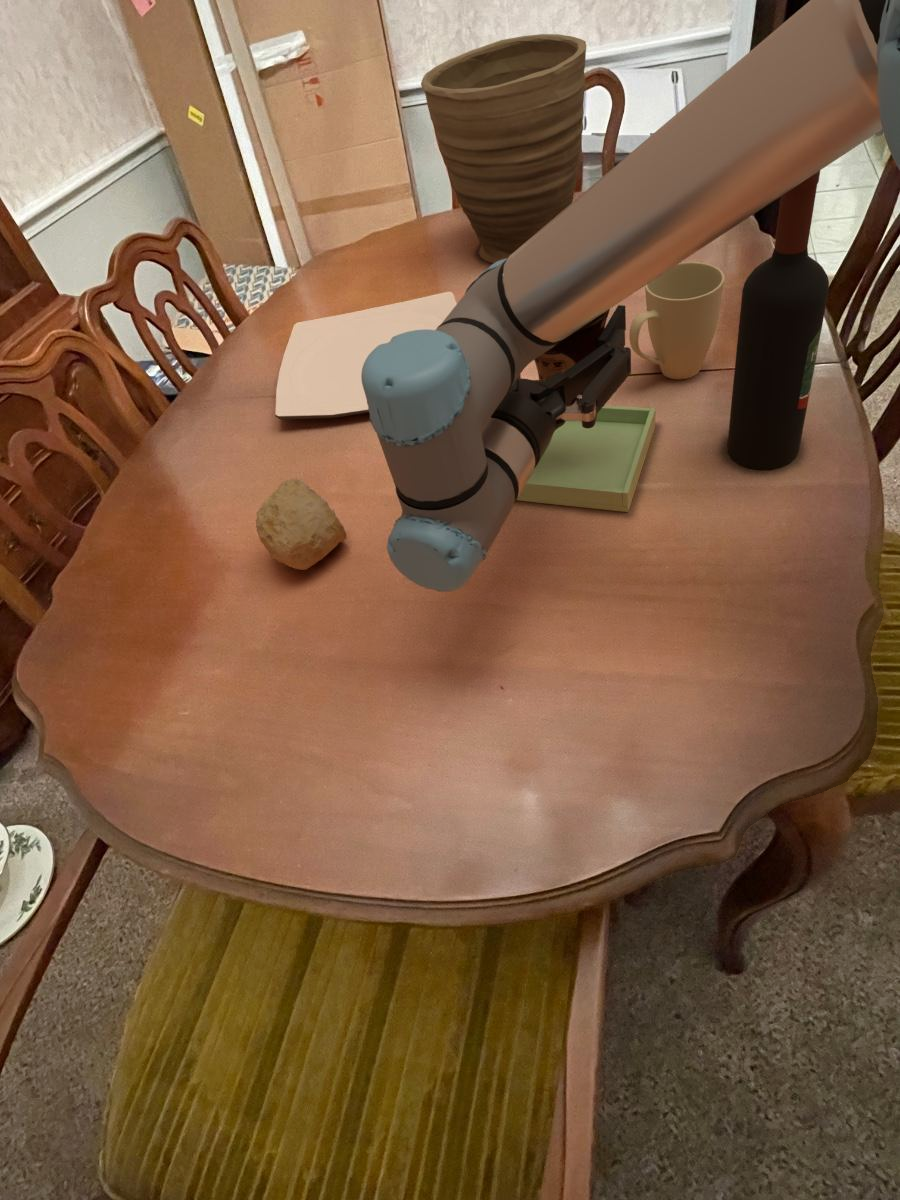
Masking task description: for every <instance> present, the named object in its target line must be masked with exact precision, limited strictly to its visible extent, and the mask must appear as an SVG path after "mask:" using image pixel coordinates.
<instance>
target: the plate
mask: <svg viewBox="0 0 900 1200" xmlns="http://www.w3.org/2000/svg"><path fill="white" fill-rule="evenodd" d="M457 303H458V302H457V300H456V298H455V295H454V293H453V291H445V292H444V291H443V292H440V293H436V294H431V295H426V296H423V297H419V298H414V299H410V300H405V301H400V302H396V303H389V304H386V305H381V306H375V307H371V308H366V309H362V310H357V311H352V312H347V313H343V314H342V313H341V314H337V315H336V314H335V315H331V316H326V317H320V318H315V319H309V320H304V321H299V322H296V323H295V324H293V327H292V330H291V333H290V335H289V339H288V342H287V345H286V347H285V351H284V353H283V357H282V361H281V364H280V368H279V372H278V377H277V382H276V383H277V384H276V389H275V390H276V391H275V418H277V419H279V420H304V419H305V420H306V419H307V420H308V419H335V418H342V417H348V416H354V415H361V414H366V413H369V410H368V408H369V407H368V404H367V399H366V396H365V392H364V389H363V385H362V379H361V373H362V368H363V364H364V362H365V360H366V358H367V357H368V355H369V354H370V353H371V352H372V351H373V350H374V349H375V348H376V347H377V346H378V345H381V344H385V343H388V342H390V341H391V338H392V337H394V336H396V335H399V334H402V333H405V332H409V331H414V330H426V329H427V330H436V329H437V327H438V326H439V325H441V323H442V322H443V321H444V320H445V318H446V317H447V316H448V315H449V313H450V312H451V311H452V310H453V308H454V307H455V306H456V305H457Z"/></svg>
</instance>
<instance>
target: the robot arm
mask: <svg viewBox="0 0 900 1200" xmlns="http://www.w3.org/2000/svg"><path fill="white" fill-rule="evenodd" d="M881 131H882V132H883V137H884V140H885V143H886V145H887V147H888V151H889V153H890V155H891V157H892V160H893V161H894V163H895V165H896V167H897V169H898V171H900V0H809V1H808V2H807V3H805V4H804V5H803V6H802V7H800V9H798V10H797V11H796V12H794V14H792V15H791V16H790V17H789V18H788V19H786V20H785V21H784V22H783V23H782V24H781V25H779V26H778V27H777V28H776V29H774V30H773V31H772V32H771V33H770V34H769V35H768V36H766V37H765V38H764V39H763V40H762V41H761V42H759V43H758V44H757V45H755V46H754V47H753V48H752V49H751V50H750V51H749V52H747V53H746V54H745V55H744V56H743V57H742V58H740V59H739V60H738V61H737V62H736V63H735V64H734V65H733V66H731V67H730V68H729V69H728V70H726V71H725V72H724V73H723V74H721V75H720V76H719V77H718V78H717V79H715V81H714V82H712V83H711V84H710V85H708V86H707V87H706V88H705V89H704V90H703V91H702V92H700V93H699V94H698V95H697V96H696V97H694V98H693V99H692V100H691V101H689V102H688V103H687V104H686V105H685V106H684V107H682V108H681V110H679V111H678V112H677V113H676V114H674V115H673V116H672V117H671V118H670V119H669V120H668V121H667V122H665V123H664V124H663V125H661V126H660V127H659V128H658V129H657V130H656V131H655V132H653V133H652V134H651V135H650V136H649V137H648V138H647V139H645V140H644V141H643V142H642V143H641V144H639V145H638V146H637V147H636V148H635V149H633V150H632V151H631V152H630V153H629V154H628V155H626V156H625V157H624V158H623V159H622V160H621V161H619V162H618V163H617V164H616V165H615V166H614V167H612V168H611V169H610V170H608V172H606V173H605V174H603V176H602V177H601V178H599V179H598V180H597V181H596V182H594V184H592V185H591V186H590V187H589V188H588V189H586V190H585V191H583V193H582V194H580V196H578V197H577V198H576V199H575V200H573V201H572V203H571V204H570V205H569V206H568V207H567V208H565V209H564V210H563V211H562V212H561V213H559V214H558V215H557V216H556V217H555V218H554V219H552V220H551V221H550V222H549V223H548V224H546V225H545V226H544V227H543V228H542V229H541V230H539V231H538V232H537V233H536V234H535V235H534V236H532V237H531V238H530V239H529V240H528V241H526V242H525V243H524V244H523V245H522V246H521V247H519V248H518V249H517V250H516V251H515V252H514V253H512V254H511V255H510V256H509V258H507V259H503V260H500V261H497V262H495V263H491V265H490V266H489V267H488V268H487V269H485V270H484V271H482V273H480V274H479V275H478V276H477V277H476V278H475V279H474V280H473V281H472V282H471V283H470V284H469V286H468V287H467V288H466V290H465V292H464V295H463V296H462V297H461V298H460V299H459V301H458V302H456V303H457V305H456V306H455V307H454V308H453V310H452V311H451V312H450V313H449V315H448V316H447V317H446V318H445V320H444V321H443V322H442V323H441V325H439V326H438V327H437V329H436V330H427V329H426V330H414V331H409V332H405V333H402V334H399V335H396V336H394V337H392V338H391V341H390V342H388V343H385V344H381V345H378V346H377V347H376V348H375V349H374V350H373V351H372V352H371V353H370V354H369V355H368V357H367V358H366V360H365V362H364V364H363V368H362V373H361V379H362V385H363V389H364V392H365V396H366V399H367V404H368V407H369V408H368V410H369V412H368V414H369V422H370V423H371V426H372V429H373V430H374V432H375V433H376V435H377V439H378V441H379V444H380V447H381V450H382V452H383V455H384V458H385V461H386V464H387V467H388V469H389V472H390V475H391V477H392V482H393V484H394V486H395V493H396V496H397V499H398V502H399V504H400V507H401V515H400V517H398V518H397V519H396V520H395V522H394V524H393V528H392V530H391V531H390V533H389V536H388V538H387V545H386V549H387V550H386V551H387V554H388V557H389V558H390V562H391V563H392V564H393V566H394V567H395V569H397V571H399V573H401V575H403V576H404V578H405V579H408V580H409V581H410V582H412V583H414V584H415V585H417V586H419V587H421V588H424V589H427V590H433V591H436V592H441V593H448V592H454V591H457V590H459V589H461V588H463V587H464V586H465V585H466V584H467V583H468V582H469V580H470V579H471V577H472V576H473V575H474V573H475V572H476V570H477V568H478V567H479V565H480V564H481V563H483V562H484V561H485V560H486V558H487V555H488V552H489V551H490V549H491V547H492V546H493V544H494V542H495V540H496V538H497V536H498V534H499V532H500V531H501V529H502V527H503V525H504V523H505V522H506V520H507V518H508V516H509V515H510V512H511V511H512V510H513V507H514V505H515V503H516V501H518V500H517V498H518V497H519V495H520V493H521V491H522V490H523V488H524V486H525V484H526V483H527V481H528V479H529V478H530V476H531V474H532V472H533V470H534V468H535V467H536V466H537V464H538V463H539V461H540V459H541V458H542V456H543V454H544V452H545V451H546V449H547V447H548V445H549V443H550V441H551V439H552V436H553V433H554V431H555V430H556V429H558V428H559V427H561V426H562V425H563V424H564V423H565V422H566V421H582V426H583V427H584V428H592V427H593V426H594V425H595V422H596V418H597V413H598V412H599V411H600V410H601V409H602V407H603V406H604V405H606V404H607V403H608V401H609V400H610V399H611V398H612V397H613V395H614V394H615V393H616V392H617V391H618V389H619V388H620V387H621V386H622V384H623V383H624V382H625V381H626V380H627V379H628V377H629V376H630V375H631V374H632V350H631V349H632V348H630V347H626V330H627V320H626V319H627V318H626V317H627V316H626V313H627V312H626V305H623V304H621V305H620V303H621V302H622V301H624V300H625V299H627V298H628V297H630V296H632V295H633V294H635V293H636V292H638V291H639V290H641V289H642V288H645V285H647V284H648V283H650V282H651V281H653V280H654V279H656V278H657V277H659V276H660V275H662V274H663V273H665V272H666V271H668V270H670V269H671V268H673V267H674V266H676V265H677V264H679V263H682V262H684V261H685V260H686V259H688V258H690V257H692V255H695V253H697V252H699V251H701V250H702V249H703V248H705V247H706V246H708V245H709V244H711V243H712V242H713V241H715V240H716V239H718V238H719V237H721V236H723V235H724V234H726V233H727V232H729V231H730V230H732V229H733V228H735V227H737V226H738V225H739V224H741V223H743V222H744V221H745V220H747V219H749V218H750V217H751V216H753V215H755V214H756V213H758V212H759V211H760V210H762V209H765V208H766V206H769V205H770V204H771V203H773V202H775V201H776V200H778V199H779V198H781V196H782V195H783V194H785V193H786V192H788V191H790V190H791V189H793V188H794V187H796V186H797V185H799V184H800V183H802V182H803V181H805V180H806V179H808V178H809V177H811V176H812V175H814V174H815V173H817V172H818V171H820V172H821V171H822V170H823V169H824V168H826V167H828V166H829V165H831V164H832V163H833V162H835V161H837V160H839V159H840V158H841V157H843V156H844V155H846V154H847V153H848V152H850V151H852V150H853V149H855V148H856V147H858V146H859V145H861V144H863V143H864V142H866V141H867V140H868V139H870V138H871V137H873V136H875V135H876V134H878V133H879V132H881ZM618 304H619V305H618ZM615 306H616V308H615V310H614V312H613V313H612V315H611V316H610V318H609V320H608V322H606V324H605V328H604V330H603V332H602V333H601V335H600V337H599V338H598V348H597V349H596V350H595V351H593V352H592V353H590V354H589V355H588V356H586V357H585V358H583V359H582V360H581V361H579V362H578V363H576V364H575V365H573V366H572V367H571V368H569V369H568V370H566V371H565V372H564V373H562V374H561V373H555V374H554V375H553V376H551V377H550V378H548V379H547V380H545V381H539V380H532V379H530V378H522V377H521V376H522V375H521V374H522V372H523V371H524V370H525V368H527V366H528V365H529V364H531V363H532V362H533V361H534V359H536V358H537V357H539V356H540V355H542V354H543V353H545V352H546V351H548V350H549V349H551V348H552V347H554V346H555V345H557V344H558V343H560V342H561V341H563V340H564V339H565V338H566V337H568V336H569V335H571V334H572V333H574V332H575V331H577V330H578V329H580V328H581V327H583V326H584V325H586V324H588V323H589V322H591V321H592V320H594V319H595V318H597V317H598V316H600V315H601V314H603V313H604V312H606V311H607V310H609V309H610V310H611V309H612V308H613V307H615ZM583 391H584V392H583ZM582 392H583V395H579V394H581V393H582ZM576 396H577V400H576V401H575V402H574V403H573V404H572V405H570V404H571V401H572V399H574V398H575V397H576Z"/></svg>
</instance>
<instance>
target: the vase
mask: <svg viewBox="0 0 900 1200" xmlns="http://www.w3.org/2000/svg"><path fill="white" fill-rule="evenodd" d="M586 54H587V42H586V40H584V39H582V38H579V37H575V36H571V35H565V34H560V33H559V34H557V33H538V34H531V35H522V36H515V37H511V38H505V39H500V40H497V41H494V42H491V43H488V44H485V45H483V46H480V47H477V48H474V49H471V50H469V51H467V52H465V53H464V52H463V53H462V54H460V55H457V56H454V57H452V58H449V59H447V60H445V61H444V62H443V61H442V62H441V63H440V64H437V65H436V66H434V67H433V68H431V69H429V70H428V71H427V72H426V73H425V74H424V75H423V77H422V79H421V82H420V85H421V89H422V90H423V93H424V95H425V101H426V104H427V109H428V113H429V116H430V120H431V123H432V125H433V130H434V131H433V132H434V134H435V137H436V139H437V144H438V150H439V152H440V154H441V156H442V159H443V162H444V165H445V166H446V169H447V174H448V179H449V182H450V186H451V188H452V189H453V190H454V193H455V196H456V200H457V202H458V204H459V205H460V207H461V209H462V212H463V213H464V215H465V216H466V218H467V219H468V221H469V223H470V226H471V228H472V230H473V232H474V233H475V235H476V237H477V241H478V242H479V244H480V248H479V250H478V253H479V256H480V258H481V259H482V260H483V261H485V262H488V263H491V264H494V263H495V262H497V261H500V260H503V259H507V258H509V256H510V255H511V254H512V253H514V252H515V251H516V250H517V249H518V248H519V247H521V246H522V245H523V244H524V243H525V242H526V241H528V240H529V239H530V238H531V237H532V236H534V235H535V234H536V233H537V232H538V231H539V230H541V229H542V228H543V227H544V226H545V225H546V224H548V223H549V222H550V221H551V220H552V219H554V218H555V217H556V216H557V215H558V214H559V213H561V212H562V211H563V210H564V209H565V208H567V207H568V206H569V205H570V204H571V203H572V202H574V195H575V189H576V186H577V181H578V180H577V177H578V176H577V175H578V171H579V169H580V154H581V150H582V148H583V147H582V145H583V143H582V142H583V131H584V123H583V120H584V119H583V118H584V102H585V88H586V87H585V86H586V85H585V84H586V75H585V68H586V57H587V55H586Z"/></svg>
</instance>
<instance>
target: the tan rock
mask: <svg viewBox="0 0 900 1200" xmlns="http://www.w3.org/2000/svg"><path fill="white" fill-rule="evenodd" d="M255 529H256V532H257V534H258V538H259V541H260V543H262V545H263V547H264V548H265V549H266V550H267V551H268V553H269V555H270V557H271V558H273V559H275V560H276V561H277V562H279V563H282V564H284V565H286V566H288V567H289V568H293V569H294V570H299V571H300V570H303V571H306V570H308V569H310V568H311V567H313V566H314V565H315V564H317V563H318V562H319V561H322V560H323V559H324V558H325V557H326V556H327V555H328V554H330V552H333V550H334V549H335V548H336V547H338V545H339V544H340V543H344V542H345V540H346V539H347V532H346V529H345V527H344V525H343V524H342V523H341V520H340V519H339V518H338V517H337V515H336V512H335V509H331V507H330V505H329V503H328V501H327V500H326V499H325V498H323V497H322V495H320V494H319V493H317V492H316V491H315V490H314V489H311V488H310V486H309V485H308V484H307V483H305V482H304V481H303V480H302V479H300V478H299V479H298V478H296V477H293V478H291V479H289V480H285V481H283V482H282V483H281V484H280V485H278V488H277V489H275V490H274V491H273V492H272V494H271V495H270V496H269V497H268V498H266V500H265V501H264V502H263V503H262V505H261V506H260V507H259V509H258V510H257V511H256V519H255Z"/></svg>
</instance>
